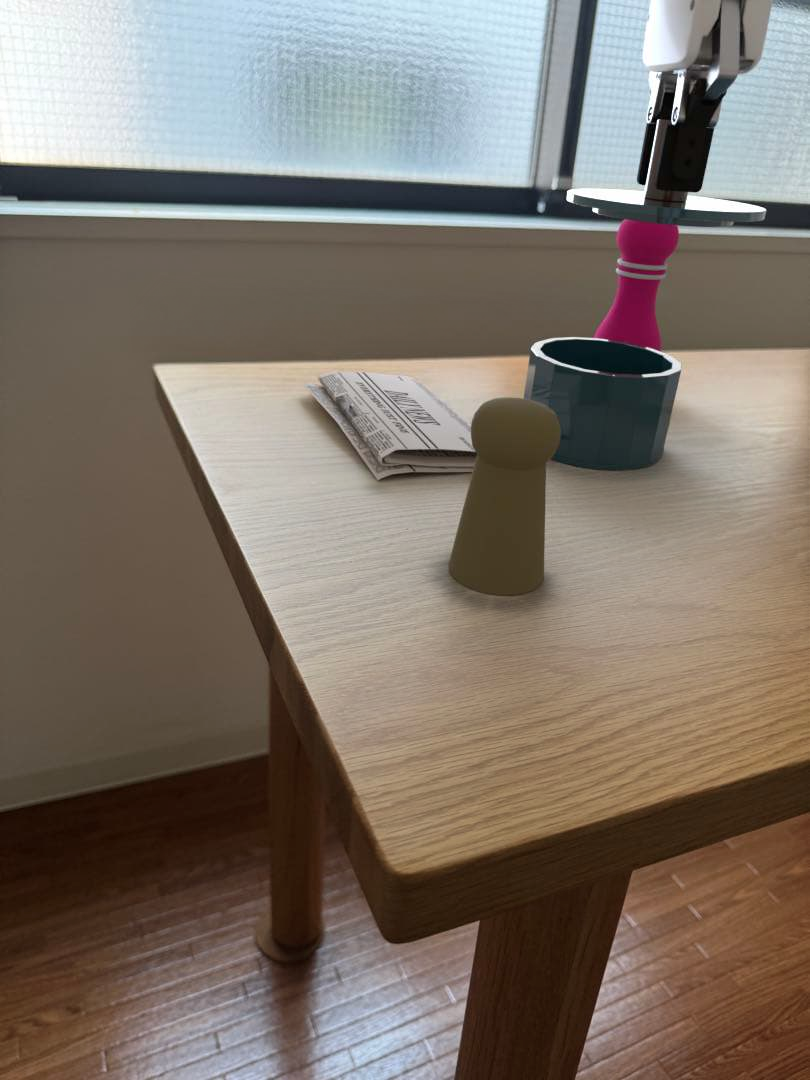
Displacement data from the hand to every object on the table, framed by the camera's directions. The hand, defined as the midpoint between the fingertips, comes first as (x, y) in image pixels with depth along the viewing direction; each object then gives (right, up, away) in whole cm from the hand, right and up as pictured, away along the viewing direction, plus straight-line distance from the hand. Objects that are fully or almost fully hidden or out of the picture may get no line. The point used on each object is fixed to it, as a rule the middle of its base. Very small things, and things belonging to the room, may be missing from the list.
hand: (667, 185), depth 60 cm
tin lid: (0, -1, +1) cm, 2 cm away
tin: (-2, -16, +17) cm, 23 cm away
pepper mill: (+5, -9, +33) cm, 34 cm away
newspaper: (-20, -15, +16) cm, 30 cm away
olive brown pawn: (-13, -27, -6) cm, 31 cm away
